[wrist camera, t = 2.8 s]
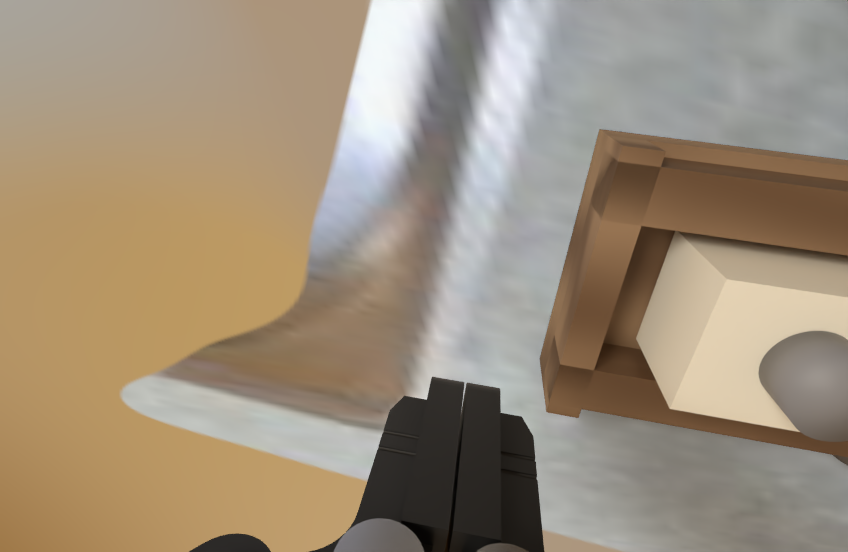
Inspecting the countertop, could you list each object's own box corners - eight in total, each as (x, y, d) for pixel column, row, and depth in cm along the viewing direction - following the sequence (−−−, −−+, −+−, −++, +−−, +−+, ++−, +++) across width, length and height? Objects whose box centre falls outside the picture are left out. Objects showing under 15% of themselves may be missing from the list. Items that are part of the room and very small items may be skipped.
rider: (675, 229, 16) (756, 308, 11) (862, 256, 15) (1038, 352, 10) (636, 338, 18) (688, 448, 13) (800, 365, 17) (923, 491, 12)
